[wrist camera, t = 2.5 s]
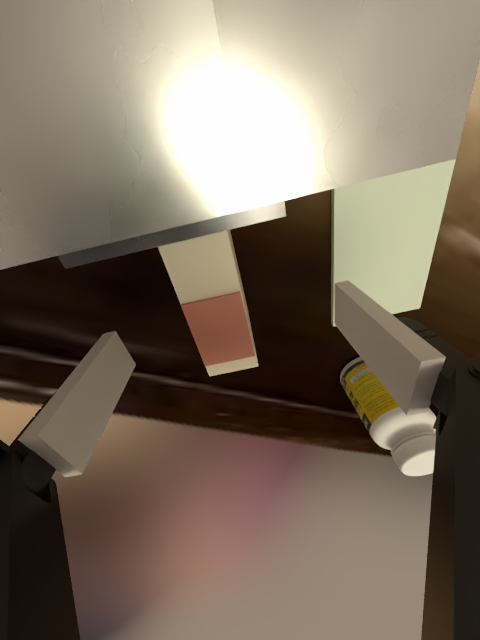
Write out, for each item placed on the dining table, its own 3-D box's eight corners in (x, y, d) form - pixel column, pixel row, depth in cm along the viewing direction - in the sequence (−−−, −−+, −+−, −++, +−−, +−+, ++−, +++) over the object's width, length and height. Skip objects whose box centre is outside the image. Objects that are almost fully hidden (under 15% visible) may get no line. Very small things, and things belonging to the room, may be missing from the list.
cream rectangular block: (155, 127, 14) (86, 73, 7) (204, 114, 14) (184, 44, 7) (213, 310, 20) (209, 378, 14) (246, 303, 20) (259, 368, 13)
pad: (331, 79, 13) (335, 75, 13) (476, 40, 13) (485, 35, 12) (331, 323, 22) (333, 326, 21) (416, 305, 21) (419, 308, 21)
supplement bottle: (329, 372, 25) (381, 466, 17) (373, 344, 24) (456, 433, 15) (351, 394, 28) (407, 487, 19) (394, 370, 26) (475, 461, 18)
